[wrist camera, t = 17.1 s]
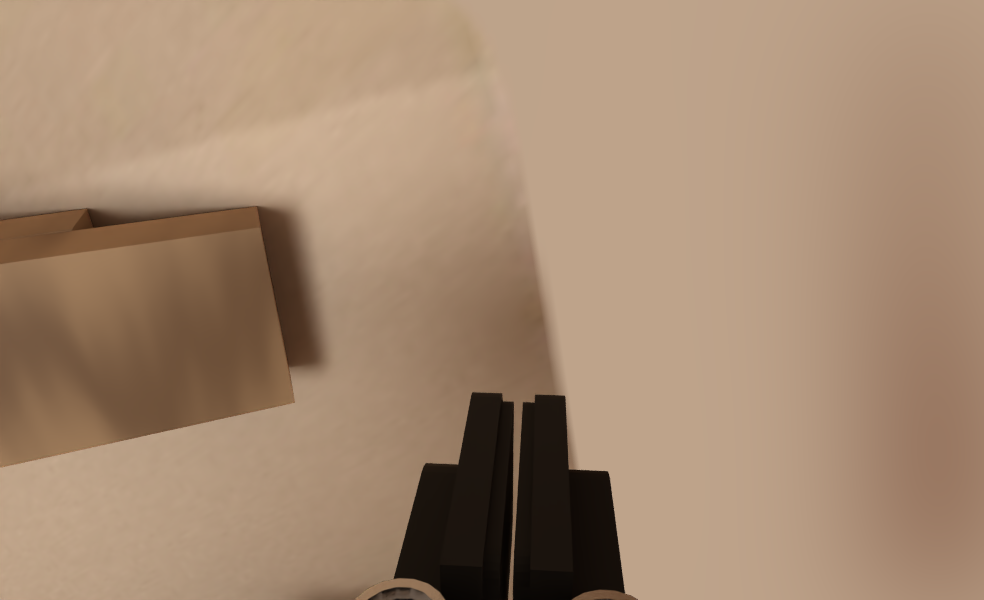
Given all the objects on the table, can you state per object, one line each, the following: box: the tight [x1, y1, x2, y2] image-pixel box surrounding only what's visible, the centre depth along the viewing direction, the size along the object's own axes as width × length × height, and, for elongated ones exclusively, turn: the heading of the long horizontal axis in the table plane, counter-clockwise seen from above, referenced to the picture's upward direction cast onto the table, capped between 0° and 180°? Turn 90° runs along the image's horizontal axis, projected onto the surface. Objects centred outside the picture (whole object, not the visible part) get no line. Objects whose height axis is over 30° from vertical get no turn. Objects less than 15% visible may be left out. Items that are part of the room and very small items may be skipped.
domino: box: [0, 206, 295, 468], centre depth 16 cm, size 5×2×9 cm
